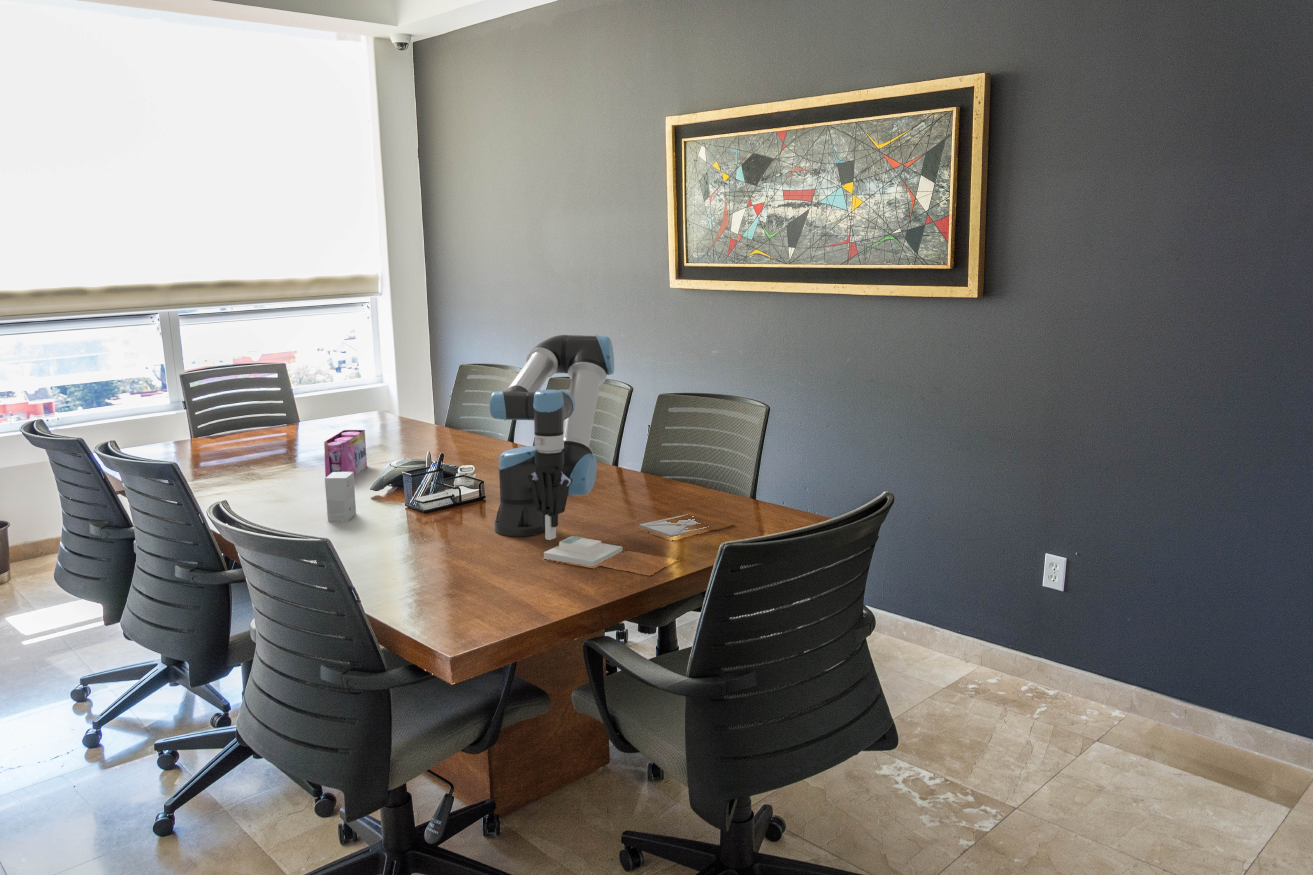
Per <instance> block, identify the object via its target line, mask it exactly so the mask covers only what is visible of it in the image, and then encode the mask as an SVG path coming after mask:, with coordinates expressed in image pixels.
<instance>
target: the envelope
mask: <svg viewBox="0 0 1313 875" xmlns="http://www.w3.org/2000/svg"><path fill="white" fill-rule="evenodd" d="M688 514H689V513H687V514H682V515H678V516H674V517H673V516H672V517H669V518H663V519H659V520H655V521H650V522H645V523H640V524H638V528H639V527H642V528H645V529H648V530H651V531H654V532H658V533H660V534H664V535H666V536H669V537H673V536H678V535H681V534H685V533H688V532H692V531H696V530H699V529H704V528H707V527H703V528H699V529H694V530H684V529H688V528H685V527H687V526H693V525H696V524H701V523H698V522H696V521H694V520H695V519H692V520H691V519H688V520H679V521H678V522H677V523H671V522H667V521H666V520H670V519H674V518H679V517H682V516H685V515H688ZM692 517H694V516H692ZM676 525H681V526H676ZM708 527H709V526H708Z"/></svg>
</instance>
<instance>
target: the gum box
mask: <svg viewBox="0 0 1313 875" xmlns="http://www.w3.org/2000/svg"><path fill="white" fill-rule="evenodd" d="M323 447H324V472H325V473H324V474H325V475H324V476H325V478H326V477H327V476H328V475H330V474H331V473H332V472H354V477H355V476H356V475H357V474H359V473H360V472H362V471H363V470H364V469H366V467H368V462H367V460H368V459H367V443H366V430H365V429H343V430H342V431H340V432H338V433H337V434H335V435H333V436H332V437H330V438H328V439H326V440H325V441H324V443H323Z"/></svg>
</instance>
